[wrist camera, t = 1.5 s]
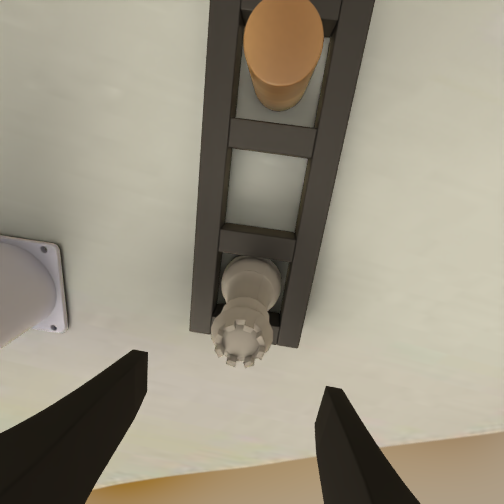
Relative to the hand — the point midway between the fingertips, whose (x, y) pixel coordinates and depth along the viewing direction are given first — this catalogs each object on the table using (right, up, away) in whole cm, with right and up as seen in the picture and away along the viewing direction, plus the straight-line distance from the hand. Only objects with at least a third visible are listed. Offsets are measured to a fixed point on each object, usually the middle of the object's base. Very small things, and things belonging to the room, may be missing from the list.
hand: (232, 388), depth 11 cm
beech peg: (+2, +16, +6) cm, 17 cm away
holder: (+2, +10, +8) cm, 12 cm away
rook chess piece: (+1, +3, +10) cm, 11 cm away
